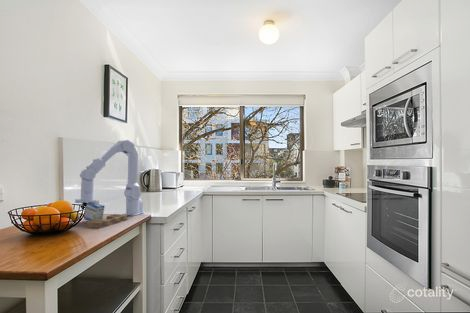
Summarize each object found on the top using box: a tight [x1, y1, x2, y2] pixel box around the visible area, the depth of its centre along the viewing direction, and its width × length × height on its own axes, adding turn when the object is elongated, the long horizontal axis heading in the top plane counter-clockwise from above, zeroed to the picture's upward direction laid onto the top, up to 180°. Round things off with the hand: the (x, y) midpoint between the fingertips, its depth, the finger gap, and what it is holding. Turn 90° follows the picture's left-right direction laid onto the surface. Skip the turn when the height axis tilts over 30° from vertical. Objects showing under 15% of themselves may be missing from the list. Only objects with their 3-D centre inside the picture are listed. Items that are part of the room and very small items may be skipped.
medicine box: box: [83, 202, 106, 221], centre depth 142 cm, size 8×4×9 cm, turn 75°
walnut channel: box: [86, 213, 128, 229], centre depth 139 cm, size 18×8×2 cm, turn 161°
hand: (86, 217), depth 143 cm, fingers closed, pressing on medicine box
